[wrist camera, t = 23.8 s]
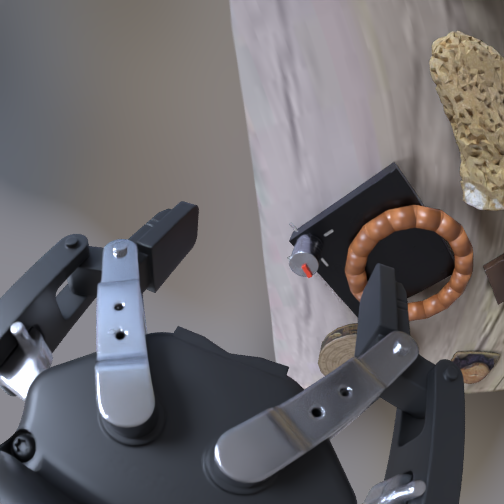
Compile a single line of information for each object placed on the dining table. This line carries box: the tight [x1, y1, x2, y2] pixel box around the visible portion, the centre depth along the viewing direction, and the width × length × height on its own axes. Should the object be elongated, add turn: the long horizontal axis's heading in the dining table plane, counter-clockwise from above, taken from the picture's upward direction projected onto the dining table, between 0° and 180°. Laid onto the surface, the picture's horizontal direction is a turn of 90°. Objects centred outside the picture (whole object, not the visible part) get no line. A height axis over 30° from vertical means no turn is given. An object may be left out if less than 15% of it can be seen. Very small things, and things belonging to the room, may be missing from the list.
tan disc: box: [318, 323, 358, 376], centre depth 51 cm, size 16×16×3 cm
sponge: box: [429, 31, 504, 211], centre depth 23 cm, size 13×8×20 cm
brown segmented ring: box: [345, 205, 473, 321], centre depth 36 cm, size 17×17×3 cm
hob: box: [288, 162, 455, 318], centre depth 39 cm, size 19×19×3 cm
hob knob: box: [289, 233, 323, 278], centre depth 38 cm, size 4×4×5 cm
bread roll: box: [451, 351, 500, 384], centre depth 44 cm, size 11×8×4 cm
